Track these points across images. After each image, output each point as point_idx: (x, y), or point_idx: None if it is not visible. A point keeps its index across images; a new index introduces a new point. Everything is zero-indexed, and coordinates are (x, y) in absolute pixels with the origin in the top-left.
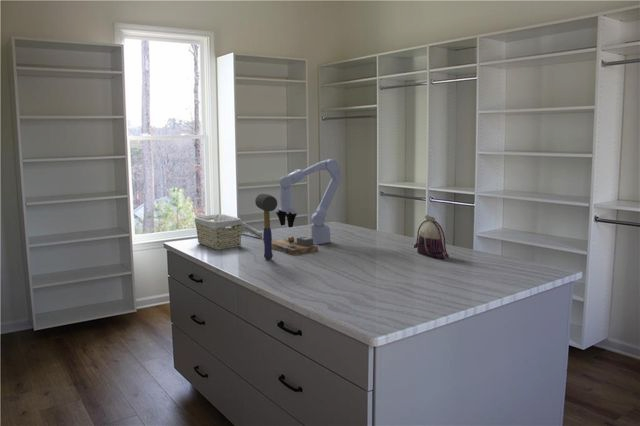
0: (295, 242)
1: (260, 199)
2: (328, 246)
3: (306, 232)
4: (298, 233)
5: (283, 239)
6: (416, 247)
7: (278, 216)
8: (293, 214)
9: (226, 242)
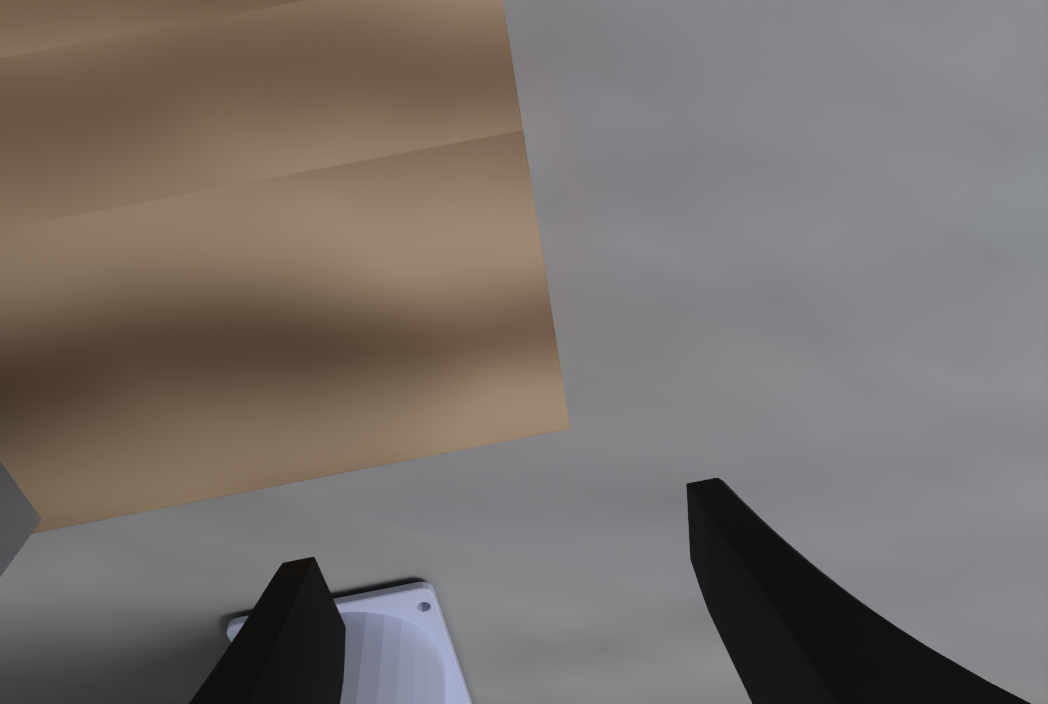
0: (128, 404)
1: None
2: (82, 687)
3: None
4: (1018, 626)
5: (518, 314)
6: None
7: (897, 667)
8: None
9: None
